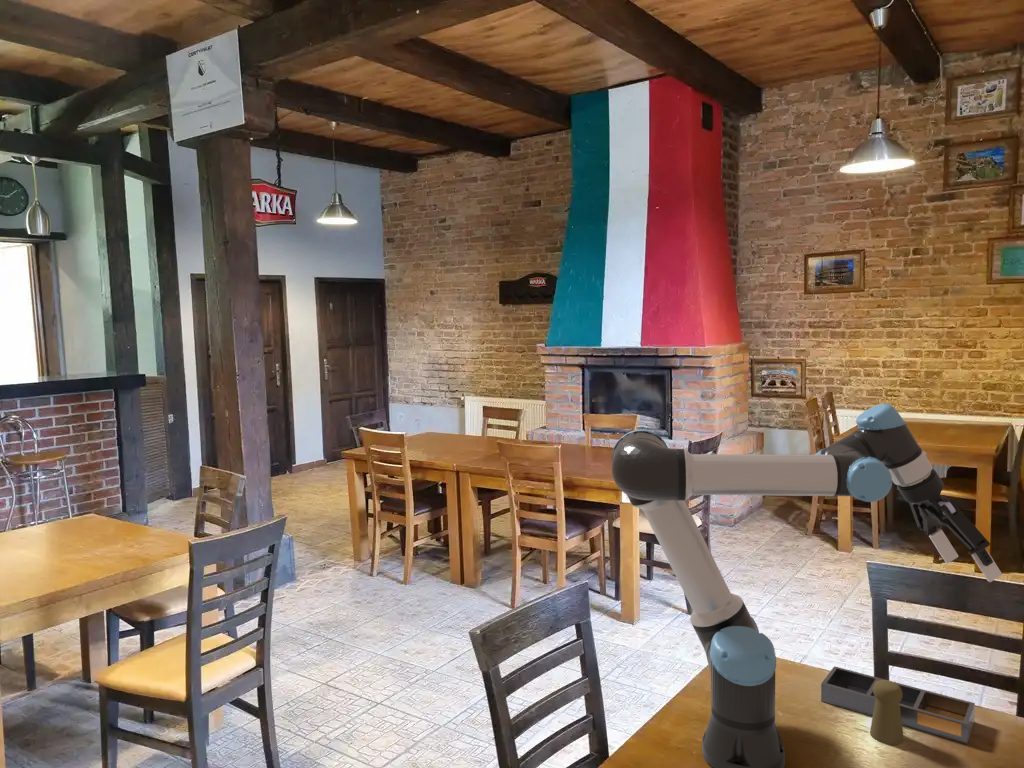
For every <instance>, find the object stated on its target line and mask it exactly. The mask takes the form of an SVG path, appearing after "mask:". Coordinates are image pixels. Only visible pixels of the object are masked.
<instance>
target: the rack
mask: <svg viewBox="0 0 1024 768" xmlns="http://www.w3.org/2000/svg"><path fill="white" fill-rule="evenodd" d="M879 680H886V679H884V678H880V677H876V676H874V675H873V676H872V675H869V674H865V673H863V672H857V671H854V670H851V669H847V668H842V667H838V666H833V667H832V669H830V671H829V672H828V674H827V675H826V677H825V678H824V679H823V680H822V682H821V684H820V685H821V687H820V688H821V689H820V690H821V694H820V702H822V703H826V704H829V705H832V706H836V707H840V708H843V709H845V710H846V709H847V710H850V711H853V712H857V713H860V714H863V715H867V716H870V717H873V712H874V706H875V700H876V697H875V696H874V693H873V686H874V684H875V683H876V682H877V681H879ZM894 682H895V683H896V684H898V685H899V686H900V688H901V690H902V693H903V694H902V699H901V701H900V702H899V705H900V713H901V720H902V726H905V727H907V728H911V729H914V730H918V731H922V732H924V733H928V734H932V735H935V736H938V737H942V738H945V739H949V740H952V741H956V742H958V743H962V744H966V745H968V743H969V740H970V736H971V734H972V730H973V727H974V724H975V716H976V715H975V709H976V705H975V704H976V703H975V702H972V701H967V700H964V699H960V698H957V697H954V696H949V695H945V694H942V693H938V692H933V691H930V690H927V689H923V688H919V687H914V686H911V685H906V684H904V683H900V682H896V681H894Z"/></svg>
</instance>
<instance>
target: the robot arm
mask: <svg viewBox="0 0 1024 768" xmlns="http://www.w3.org/2000/svg"><path fill="white" fill-rule="evenodd" d="M855 423H856V425H857V429H856V430H855V431H853V432H852V433H850V434H848V435H846V436H844V437H842V438H841V439H838V440H837V441H835V442H834V443H831V444H830V445H827V447H825V448H821V449H820V450H819V451H818V452H816V453H815V454H756V453H755V454H754V453H753V454H742V453H741V454H739V453H738V454H734V453H733V454H732V453H731V454H728V453H725V454H723V453H722V454H718V453H716V454H713V453H712V454H711V453H710V454H709V453H707V454H706V453H705V454H700V453H699V454H698V453H697V454H696V453H693V454H692V453H690V452H689V451H688V450H687V449H685V448H670V447H668V445H667V443H666V442H665V440H664V439H663V438H662V437H661V436H659V435H658V434H656V433H655V432H653V431H650V430H645V429H636V430H635V429H634V430H632V431H629V432H627V433H625V434H624V435H622V436H621V437H620V438H619V440H617V442H616V443H615V444H614V446H613V448H612V452H611V453H612V454H611V462H612V463H611V474H612V477H613V478H612V479H613V481H614V483H615V484H616V486H617V488H619V490H621V492H623V493H624V494H625V495H626V497H627V498H628V500H629V502H630V503H631V505H632V507H633V508H635V509H636V508H637V509H640V510H642V512H643V513H644V516H645V517H646V519H647V522H648V523H649V525H650V528H651V529H652V531H653V534H654V536H655V537H656V540H657V541H658V543H659V546H660V547H661V549H662V552H663V553H664V556H665V557H666V559H667V561H668V563H669V566H670V567H671V569H672V572H673V573H674V575H675V577H676V579H677V581H678V583H679V585H680V588H681V589H682V591H683V593H684V595H685V597H686V599H687V602H688V603H689V605H690V607H691V609H692V612H691V614H690V617H689V620H690V623H691V626H692V627H693V629H694V631H695V633H696V635H697V637H698V639H699V641H700V643H701V645H702V648H703V650H704V652H705V655H706V660H707V664H708V668H709V672H710V690H711V691H710V693H711V694H710V697H711V698H710V700H711V701H710V702H711V703H710V704H711V705H710V706H711V714H710V716H709V719H708V723H707V727H706V730H705V731H704V734H703V735H702V742H701V743H702V744H701V746H702V747H701V752H702V757H703V759H704V760H705V762H706V763H707V764H708V765H709V766H710V767H711V768H785V765H786V751H785V746H784V744H783V740H782V738H781V735H780V732H779V729H778V726H777V722H776V669H777V656H776V651H775V646H774V644H773V642H772V641H771V639H770V638H769V637H768V636H767V635H765V634H764V633H763V632H760V630H759V626H758V625H757V623H756V621H755V619H754V618H753V616H752V615H751V614H750V612H749V610H748V608H747V606H746V605H745V602H744V600H743V599H742V597H741V596H739V595H738V594H734V593H731V591H730V589H729V587H728V585H727V583H726V581H725V579H724V576H723V574H722V572H721V570H720V569H719V567H718V565H717V563H716V560H715V559H714V556H713V555H712V552H711V551H710V549H709V547H708V544H707V542H706V540H705V539H704V537H703V535H702V533H701V531H700V529H699V527H698V525H697V523H696V521H695V518H694V517H693V515H692V513H691V510H690V508H689V507H688V505H687V503H686V501H687V500H688V499H690V498H691V497H692V496H776V497H777V496H784V497H785V496H789V497H791V496H794V497H795V496H797V497H798V496H799V497H803V496H805V497H807V496H809V497H814V496H815V497H852V498H854V499H857V500H859V501H862V502H866V503H875V502H878V501H880V500H882V499H884V498H886V496H887V495H888V494H889V492H890V491H891V488H892V486H893V484H894V485H895V486H896V485H897V489H898V491H899V493H900V495H902V497H903V500H905V502H907V503H908V504H909V507H910V510H911V512H912V515H913V518H914V520H915V524H916V526H917V528H918V530H920V531H923V532H924V534H926V535H927V536H928V537H929V539H930V540H931V542H932V543H933V545H934V546H935V548H936V550H937V552H938V553H939V555H940V556H941V558H942V559H943V561H944V563H946V564H949V563H951V562H953V561H954V560H956V559H957V558H958V557H959V555H958V552H957V551H956V549H955V548H954V547H953V545H952V544H951V542H950V540H949V539H948V536H947V535H946V534H945V532H944V531H943V529H940V528H941V527H943V526H945V527H947V528H948V529H949V530H950V531H951V532H952V533H953V534H954V535H955V537H957V539H959V540H960V541H961V542H962V543H963V544H964V545H965V546H966V548H968V549H969V551H968V555H970V556H971V557H972V559H973V560H974V562H975V563H976V565H977V567H978V568H979V570H980V572H981V573H982V574H983V576H984V578H985V579H986V580H987V582H989V583H991V582H994V581H995V580H996V579H997V578H999V577H1001V576H1003V573H1002V572H1001V570H1000V568H999V567H998V565H997V564H996V562H995V560H994V559H993V557H992V556H991V554H990V552H989V551H988V549H987V548H988V547H989V546H991V543H990V542H989V540H988V539H987V538H986V537H985V536H984V535H983V534H982V533H981V531H980V530H979V529H978V528H977V527H976V526H975V525H974V524H973V523H972V521H971V520H970V519H969V518H968V517H967V515H965V514H964V512H963V511H962V510H961V509H960V508H959V506H958V504H957V503H956V502H955V501H954V500H953V499H950V500H949V501H947V500H946V499H945V498H944V497H943V496H942V495H941V494H942V491H943V489H944V488H945V486H944V482H943V480H942V478H941V476H940V475H939V474H938V473H937V471H936V470H935V469H933V466H932V464H931V462H930V460H929V459H928V458H927V455H928V454H927V451H924V450H923V449H922V448H921V446H920V445H919V443H918V441H917V440H916V438H915V437H914V435H913V433H912V432H911V430H910V428H909V427H908V425H907V424H906V423H907V422H906V421H905V419H904V418H903V417H902V416H901V415H900V414H899V412H898V411H897V409H896V408H895V407H894V406H893V404H889V403H880V404H877V405H874V406H871V407H869V408H867V409H866V410H864V411H863V412H862V413H860V414H859V415H858V416H857V417H856V419H855Z"/></svg>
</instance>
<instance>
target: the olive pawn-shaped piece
mask: <svg viewBox="0 0 1024 768" xmlns="http://www.w3.org/2000/svg"><path fill="white" fill-rule="evenodd" d="M895 682H896V681H892V680H888V679H885V680H879V681H877V682H876V683H875V684H874V686H873V693H874V696H875V697H876V700H875V706H874V712H873V716H872V719H871V724H870V730H869V734H870V737H871V738H872V739H874V740H875V741H876V740H877V742H878V743H881V744H884V745H889V746H899V745H901V744H903V743H904V741H905V739H904V737H905V736H904V730H903V725H902V720H901V713H900V705H899V702H900V701H901V699H902V694H903V693H902V690H901V688H900V686H899V685H898V684H896V683H897V682H896V683H895Z"/></svg>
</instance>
